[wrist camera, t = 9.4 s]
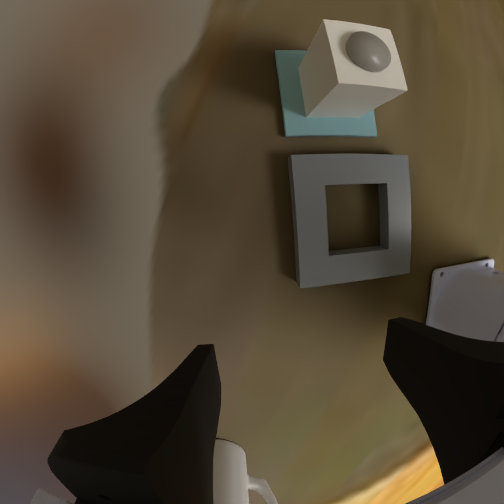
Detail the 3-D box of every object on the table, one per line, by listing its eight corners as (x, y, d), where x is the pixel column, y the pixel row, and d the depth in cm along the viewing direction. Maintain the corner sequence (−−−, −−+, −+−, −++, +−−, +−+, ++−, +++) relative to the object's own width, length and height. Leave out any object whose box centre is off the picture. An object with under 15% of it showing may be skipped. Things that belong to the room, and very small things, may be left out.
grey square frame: (397, 157, 19) (407, 155, 17) (400, 268, 21) (409, 273, 19) (287, 157, 19) (291, 155, 17) (296, 281, 21) (300, 288, 19)
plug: (349, 70, 17) (393, 26, 10) (358, 118, 18) (411, 88, 10) (298, 68, 17) (325, 15, 10) (306, 117, 18) (341, 80, 10)
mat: (360, 58, 17) (362, 55, 17) (374, 137, 19) (377, 136, 18) (274, 53, 17) (275, 50, 16) (285, 137, 18) (286, 135, 18)
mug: (181, 459, 25) (167, 542, 13) (194, 430, 24) (180, 527, 12) (261, 475, 26) (268, 553, 14) (284, 448, 25) (300, 537, 13)
